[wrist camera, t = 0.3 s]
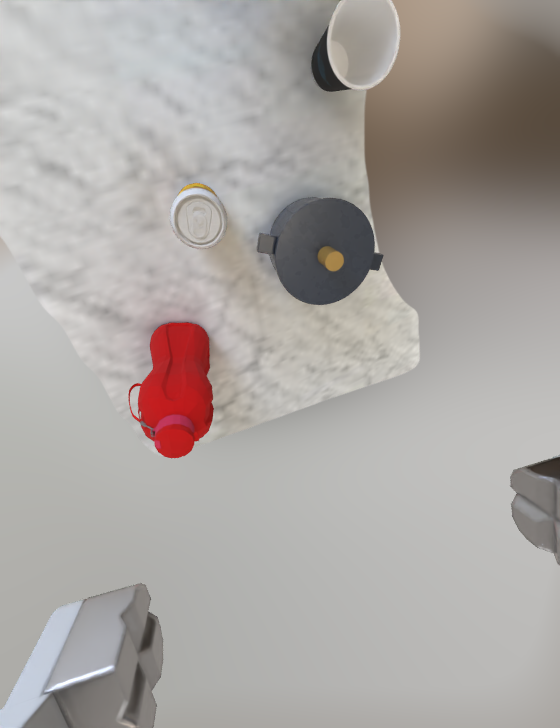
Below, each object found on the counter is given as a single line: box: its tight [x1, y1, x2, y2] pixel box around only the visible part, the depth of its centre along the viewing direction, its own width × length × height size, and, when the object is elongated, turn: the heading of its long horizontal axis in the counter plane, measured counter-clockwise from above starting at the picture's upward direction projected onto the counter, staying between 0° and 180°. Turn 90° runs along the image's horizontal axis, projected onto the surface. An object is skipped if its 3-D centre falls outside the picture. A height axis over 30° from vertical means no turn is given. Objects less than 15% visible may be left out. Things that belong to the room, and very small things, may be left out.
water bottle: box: [129, 322, 214, 458], centre depth 48 cm, size 9×11×25 cm
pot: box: [257, 197, 383, 271], centre depth 52 cm, size 14×19×8 cm
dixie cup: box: [312, 0, 400, 92], centre depth 39 cm, size 8×8×11 cm
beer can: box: [170, 183, 227, 249], centre depth 43 cm, size 6×6×15 cm
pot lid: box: [275, 198, 375, 305], centre depth 47 cm, size 15×15×5 cm
